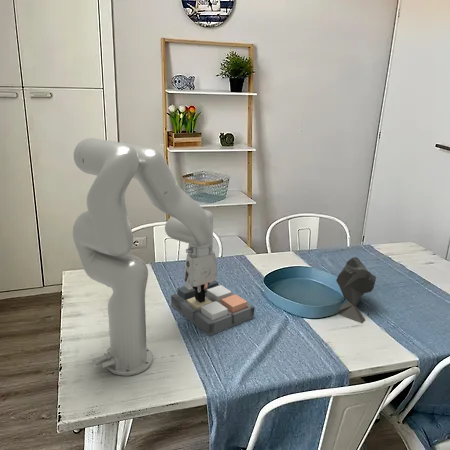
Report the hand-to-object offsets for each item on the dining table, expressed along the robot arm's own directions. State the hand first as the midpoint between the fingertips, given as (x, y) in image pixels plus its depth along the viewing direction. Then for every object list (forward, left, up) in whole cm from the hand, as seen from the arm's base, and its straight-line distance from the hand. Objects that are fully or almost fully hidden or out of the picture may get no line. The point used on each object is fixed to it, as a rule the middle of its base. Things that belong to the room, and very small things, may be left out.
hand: (200, 300), depth 142 cm
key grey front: (0, -8, -2) cm, 8 cm away
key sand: (0, 0, -3) cm, 3 cm away
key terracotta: (+8, -8, -2) cm, 11 cm away
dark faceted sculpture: (+45, -27, -5) cm, 53 cm away
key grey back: (+8, 0, -2) cm, 8 cm away
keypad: (+4, -2, -5) cm, 6 cm away
